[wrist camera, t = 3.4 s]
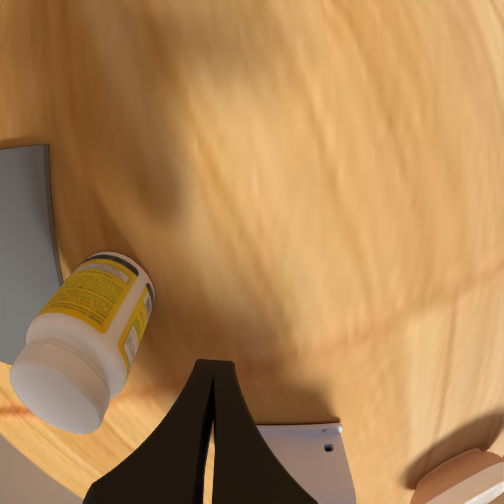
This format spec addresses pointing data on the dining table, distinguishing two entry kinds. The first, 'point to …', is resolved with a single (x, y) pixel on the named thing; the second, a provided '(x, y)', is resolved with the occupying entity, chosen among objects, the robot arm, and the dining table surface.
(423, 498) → the bowl
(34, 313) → the mat
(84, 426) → the supplement bottle
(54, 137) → the dining table surface
